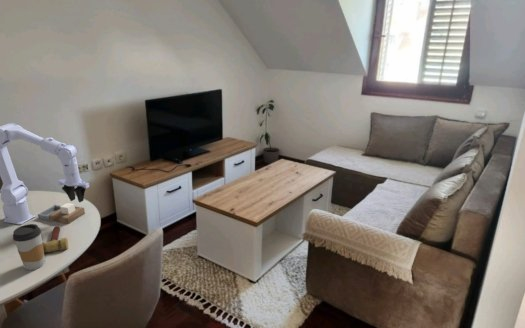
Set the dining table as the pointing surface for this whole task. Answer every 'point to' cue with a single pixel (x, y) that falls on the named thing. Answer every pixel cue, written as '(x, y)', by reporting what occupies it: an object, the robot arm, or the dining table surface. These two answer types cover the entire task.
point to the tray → (48, 212)
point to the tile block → (67, 208)
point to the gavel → (55, 242)
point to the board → (66, 215)
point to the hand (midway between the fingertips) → (77, 200)
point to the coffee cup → (30, 246)
